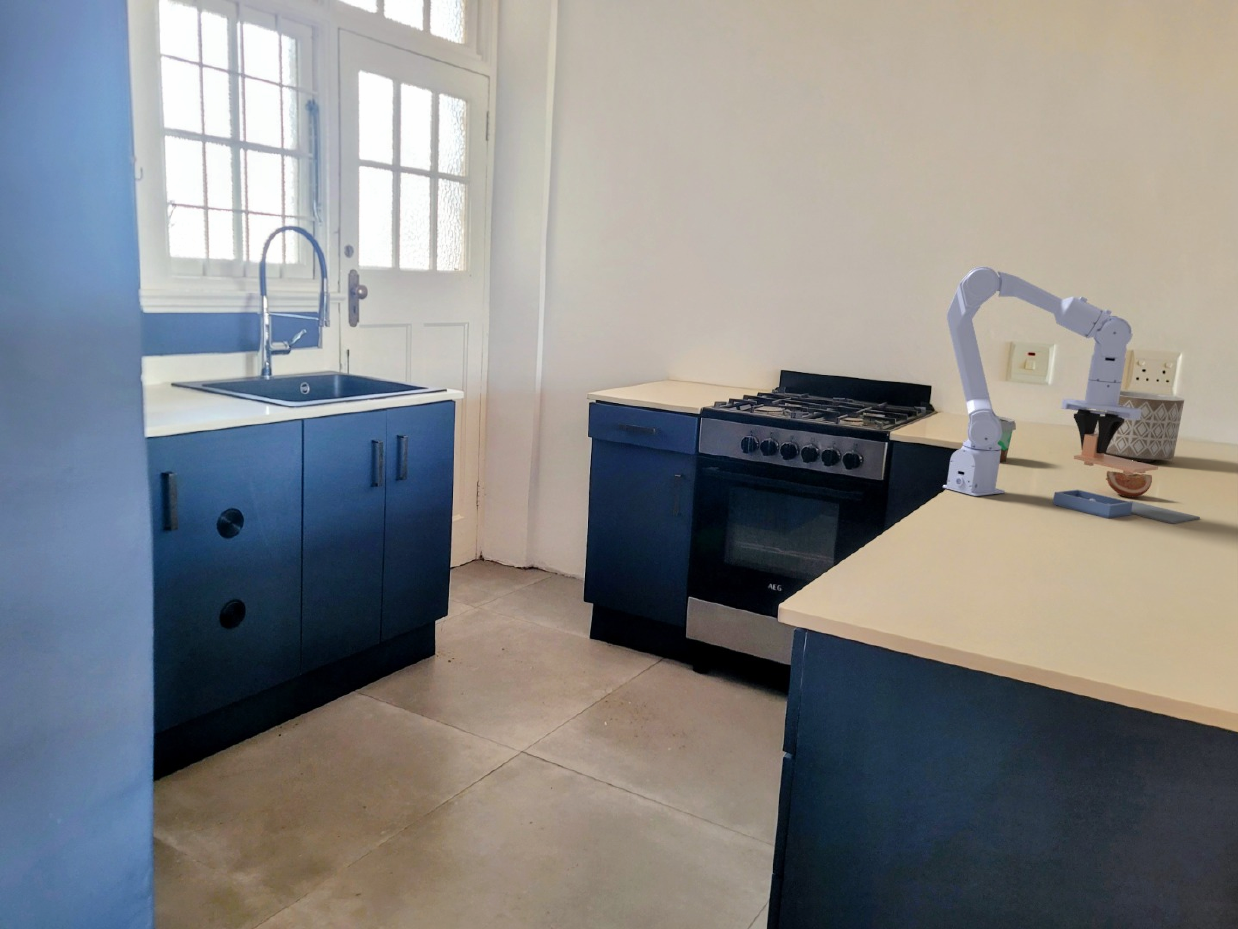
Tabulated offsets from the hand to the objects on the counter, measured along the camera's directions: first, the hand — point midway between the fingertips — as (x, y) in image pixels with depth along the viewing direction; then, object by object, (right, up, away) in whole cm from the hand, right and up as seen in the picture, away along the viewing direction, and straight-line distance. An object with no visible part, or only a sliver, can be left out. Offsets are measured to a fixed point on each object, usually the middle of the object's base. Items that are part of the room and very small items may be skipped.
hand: (1093, 451), depth 180 cm
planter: (+41, -1, +64) cm, 76 cm away
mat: (+10, -12, -1) cm, 16 cm away
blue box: (-1, -11, -2) cm, 11 cm away
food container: (+1, -2, +47) cm, 48 cm away
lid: (+2, -2, -3) cm, 5 cm away
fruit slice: (+13, -9, +14) cm, 21 cm away
